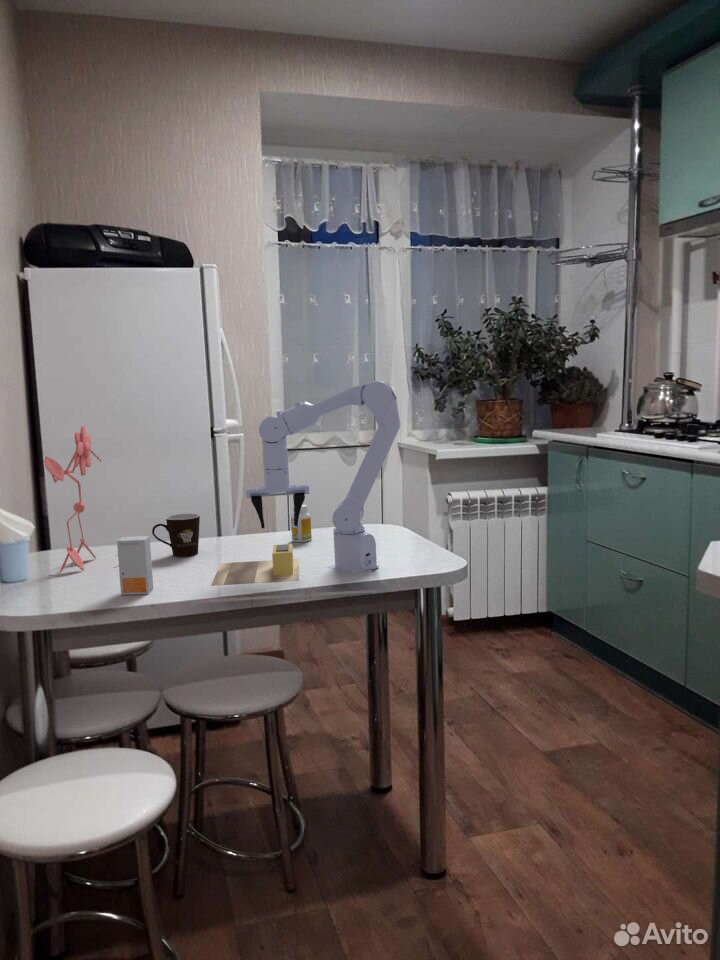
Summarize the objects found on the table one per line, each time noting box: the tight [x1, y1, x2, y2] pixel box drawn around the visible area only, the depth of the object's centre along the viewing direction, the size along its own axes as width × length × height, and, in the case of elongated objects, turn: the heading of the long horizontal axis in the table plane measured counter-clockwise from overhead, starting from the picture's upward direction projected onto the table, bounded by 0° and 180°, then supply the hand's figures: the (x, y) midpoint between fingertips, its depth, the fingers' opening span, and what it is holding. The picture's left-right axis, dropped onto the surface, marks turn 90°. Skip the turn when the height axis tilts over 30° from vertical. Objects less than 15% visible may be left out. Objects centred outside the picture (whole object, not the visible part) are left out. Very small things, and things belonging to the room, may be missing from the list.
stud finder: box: [271, 543, 294, 575], centre depth 174 cm, size 4×9×5 cm, turn 4°
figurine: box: [44, 425, 119, 577], centre depth 187 cm, size 15×26×35 cm, turn 2°
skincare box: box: [116, 535, 154, 596], centre depth 162 cm, size 6×4×12 cm
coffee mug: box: [151, 513, 201, 558], centre depth 197 cm, size 12×9×10 cm
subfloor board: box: [210, 558, 300, 586], centre depth 174 cm, size 19×20×1 cm
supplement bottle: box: [290, 504, 312, 543], centre depth 208 cm, size 5×5×10 cm
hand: (279, 526), depth 176 cm, fingers open, 7 cm apart
